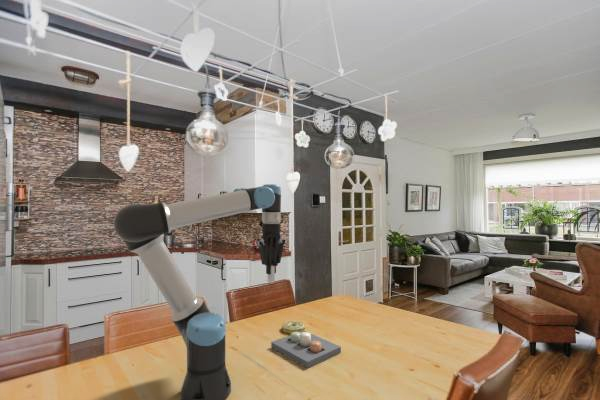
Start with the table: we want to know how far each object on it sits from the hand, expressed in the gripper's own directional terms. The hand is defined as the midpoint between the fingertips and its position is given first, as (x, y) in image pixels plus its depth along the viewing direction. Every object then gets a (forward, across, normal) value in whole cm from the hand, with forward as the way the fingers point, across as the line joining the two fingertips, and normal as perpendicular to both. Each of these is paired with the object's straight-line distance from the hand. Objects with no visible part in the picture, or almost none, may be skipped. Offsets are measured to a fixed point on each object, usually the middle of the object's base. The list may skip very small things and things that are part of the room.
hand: (271, 281), depth 124 cm
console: (+29, +12, -7) cm, 32 cm away
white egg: (+26, +12, -7) cm, 29 cm away
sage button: (+27, +12, -1) cm, 30 cm away
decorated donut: (+29, +22, +12) cm, 38 cm away
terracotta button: (+27, +12, -13) cm, 33 cm away
